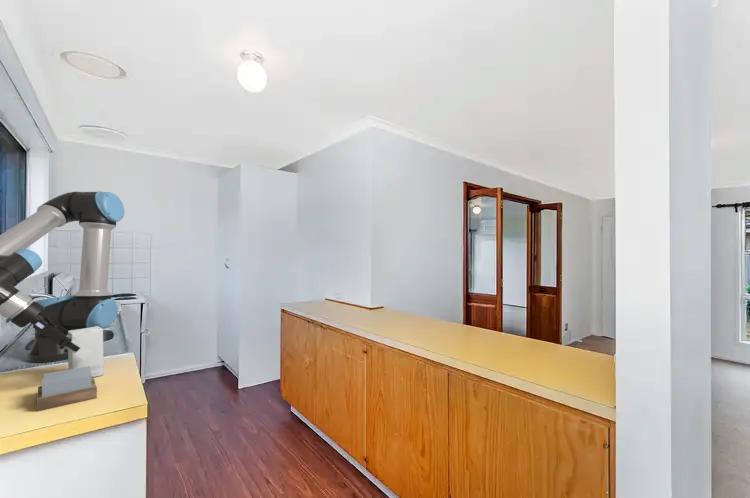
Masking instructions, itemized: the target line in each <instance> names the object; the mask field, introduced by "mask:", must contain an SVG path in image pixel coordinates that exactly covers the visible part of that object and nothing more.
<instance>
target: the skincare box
mask: <svg viewBox="0 0 750 498" xmlns="http://www.w3.org/2000/svg"><path fill="white" fill-rule="evenodd" d="M68 338H70V339H71V340H74V341H76V342H77V343H79V344H80V345H82V346H83V347H85V348H87V349H88V350H90V351H91V352H92V353H91V354H90V355H88V356H87V357H86V358H85V359H82V358H80V357H79V356H77V355H76V354H74V353H72V352H71V351H69V350H68V360H67V361H68V362H67V363H68V364H67V365H68V369H67V370H70V369H76V368H81V367H87V366H90V369H91V377H92V376H93V378H96V377H100V376H104V374H105V373H104V372H105V369H104V368H105V367H104V363H105V362H104V329H102V328H100V327H98V326H96V327H90V328H83V329H77V330H70V331H68Z"/></svg>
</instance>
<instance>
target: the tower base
mask: <svg viewBox="0 0 750 498" xmlns="http://www.w3.org/2000/svg"><path fill="white" fill-rule="evenodd" d="M97 390H98V387H97V384H96V381H95V377H93V376H92V377H91V388H87V389H82V390H77V391H72V392H67V393H62V394H57V395H52V396H47V397H43V398H42V385H40V386H38V387H37V400H36V413H37V412H41V411H42V412H43V411H46V410H50V409H55V408H60V407H65V406H70V405H74V404H78V403H81V402H86V401H90V400H91V401H92V400H95V399H97V398H98V396H97V395H98V391H97Z"/></svg>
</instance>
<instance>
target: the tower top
mask: <svg viewBox="0 0 750 498" xmlns="http://www.w3.org/2000/svg"><path fill="white" fill-rule="evenodd" d="M43 374H44V375H43V378H42V383H41V386H42V398H43V397H47V396H52V395H57V394H62V393H67V392H72V391H77V390H82V389H87V388H91V369H90V366H87V367H81V368H76V369H70V370H68V369H64V370H60V371H54V372H53V371H52V372H47V373H43Z"/></svg>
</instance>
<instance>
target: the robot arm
mask: <svg viewBox="0 0 750 498" xmlns="http://www.w3.org/2000/svg"><path fill="white" fill-rule="evenodd" d="M124 216H125V206H124V204H123V202H122V200H121V198H120V197H119V196H118V195H117V194H115V193H113V192H109V191H100V190H99V191H70V192H66V193H63V194H59V195H57V196H56V197H54V198H51V199H50V200H48V201H46V202H44V203H43V204H41V205H40V206H38V207H37V209H36V212H34V213H33V214H31V215H30V216H28V217H27V218H24V219H23V220H22V221H20V222H19V223H17V224H15V225H13V226H12V227H11V228H9V229H7V230H5V232H3V233H1V234H0V316H1V317H3V318H4V319H10V322H11V323H12V324H14V325H15V326H17V327H19V328H24V327H26V326H28V325H29V324H32V325H33V326H32V328H33V329H34V340H33V342H32V345H31V347H30V350H29V352H28V354H27V361H28V362H29V363H36V364H37V363H38V364H39V363H50V362H57V361H61V360H62V361H63V360H67V359H68V350H69V351H71V352H72V353H74V354H76V355H77V356H79V357H80V358H82V359H85V358H86V357H87V356H88V355H90V354H91V353H92V352H91V351H90V350H88V349H87V348H85V347H83V346H82V345H80V344H79V343H77V342H76V341H74V340H71V339H70V338H68V331H70V330H77V329H83V328H90V327H96V326H98V327H100V328H102V329H103V330H104V329H107V328H108V327H109V328H110V326H111V325H112V324H113V323H114V322H115V320H116V318H117V316H118V313H119V304H117V301H116V300H114V299H112V293H110V291H109V290H108V283H109V282H108V281H109V270H110V268H109V267H110V250H111V237H112V230H114V229H116V227H117V223H118V222H119V221H121V220H123V218H124ZM73 222H78V225H79V226H80V227H81V228H82V229H83V230H82V231H83V232H82V234H83V235H82V245H81V247H82V248H81V258H80V260H81V262H80V272H79V273H80V274H79V288H78V291H77V292H76V293H75V294H72V295H66V296H58V297H57V296H56V297H51V298H45V299H39V300H37V301H32V300H33V298H32V297H30V296H29V295H28V294H26V293H24V291H23V292H22V290H19V289H17V288H16V286H17V285H18V284H20V283H21V282H23V281H24V280H25V279H27V278H29V276H30V277H31V275H33V274H35V272H36V271H37V270H38V269H40V268H41V267H42V266H43V260H42V257H40V255H39V254H38V253H36V252H35V251H33V250H31V249H27V248H29V247H30V246H31V245H33V244H34V243H36V242H38V241H39V240H40V239H42V238H43V237H44V236H46V235H47V234H48V233H50V232H51V231H53V230H54V229H56V228H61V227H63V226H64V225H66V224H68V223H73Z"/></svg>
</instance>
